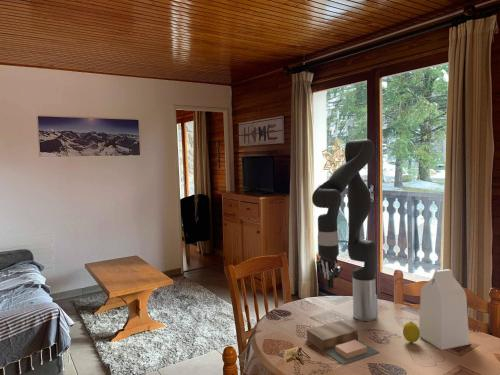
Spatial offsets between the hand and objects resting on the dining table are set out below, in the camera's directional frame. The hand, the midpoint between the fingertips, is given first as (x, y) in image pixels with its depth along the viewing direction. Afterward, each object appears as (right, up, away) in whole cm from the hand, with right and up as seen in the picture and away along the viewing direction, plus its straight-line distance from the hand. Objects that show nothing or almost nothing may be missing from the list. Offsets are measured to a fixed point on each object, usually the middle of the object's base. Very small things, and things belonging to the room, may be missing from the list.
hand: (329, 288), depth 142 cm
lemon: (+29, -19, -4) cm, 35 cm away
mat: (+6, -20, -9) cm, 23 cm away
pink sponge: (+5, -18, -9) cm, 21 cm away
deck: (+1, -20, 0) cm, 20 cm away
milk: (+41, -19, -2) cm, 45 cm away
